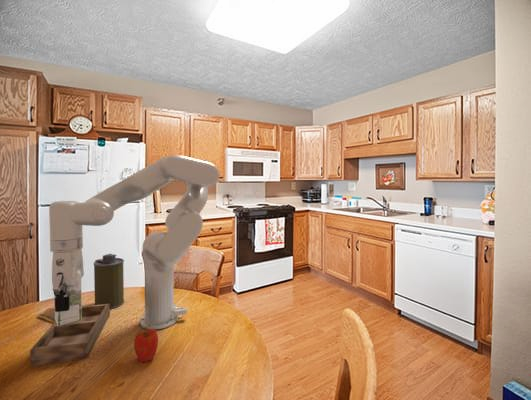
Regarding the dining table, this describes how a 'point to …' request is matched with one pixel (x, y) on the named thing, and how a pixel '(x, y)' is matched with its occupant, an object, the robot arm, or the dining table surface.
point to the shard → (48, 315)
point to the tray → (71, 337)
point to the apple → (146, 345)
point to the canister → (109, 281)
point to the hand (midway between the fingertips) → (68, 304)
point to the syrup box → (71, 305)
